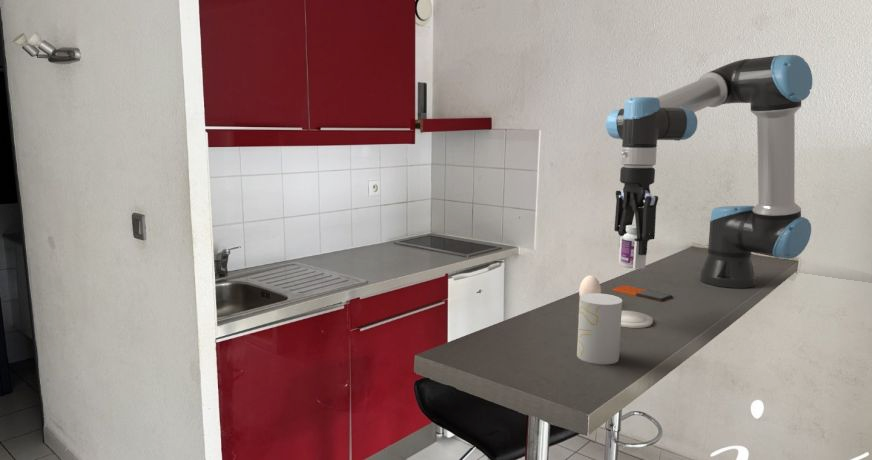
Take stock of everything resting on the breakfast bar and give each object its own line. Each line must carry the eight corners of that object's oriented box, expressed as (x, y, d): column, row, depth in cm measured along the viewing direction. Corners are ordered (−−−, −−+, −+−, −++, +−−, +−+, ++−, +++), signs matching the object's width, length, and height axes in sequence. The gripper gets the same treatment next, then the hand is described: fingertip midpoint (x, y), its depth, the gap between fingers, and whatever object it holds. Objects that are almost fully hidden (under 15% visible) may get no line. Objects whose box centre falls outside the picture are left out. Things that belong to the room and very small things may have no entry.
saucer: (635, 312, 150) (635, 308, 150) (662, 326, 139) (662, 321, 139) (595, 315, 147) (596, 311, 147) (620, 329, 136) (620, 325, 136)
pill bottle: (632, 270, 137) (634, 228, 136) (615, 265, 142) (617, 225, 140) (649, 267, 140) (652, 226, 138) (632, 263, 144) (634, 223, 143)
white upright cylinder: (571, 349, 124) (574, 293, 122) (609, 348, 125) (613, 292, 123) (584, 364, 116) (587, 305, 114) (625, 363, 117) (629, 304, 115)
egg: (604, 306, 155) (606, 276, 153) (589, 309, 152) (591, 279, 151) (589, 301, 159) (590, 272, 158) (574, 304, 157) (575, 274, 155)
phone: (624, 284, 174) (673, 295, 163) (624, 288, 174) (673, 299, 163) (612, 288, 170) (661, 299, 159) (611, 292, 170) (661, 304, 159)
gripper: (602, 164, 145) (597, 258, 149) (647, 169, 127) (640, 275, 131) (629, 164, 147) (624, 256, 151) (677, 168, 129) (669, 273, 133)
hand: (631, 265), depth 141 cm, fingers closed on pill bottle, 5 cm apart
